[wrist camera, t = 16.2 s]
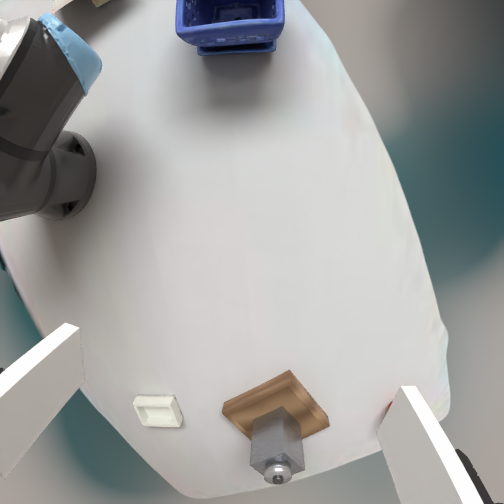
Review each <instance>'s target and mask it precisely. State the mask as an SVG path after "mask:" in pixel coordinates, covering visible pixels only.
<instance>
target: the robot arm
mask: <svg viewBox="0 0 504 504" xmlns="http://www.w3.org/2000/svg"><path fill="white" fill-rule="evenodd" d="M101 69H102V61H101V59H100V57H99V56H98V55H97V53H96V52H95V51H94V50H93V49H92V48H91V47H90V46H89V45H88V44H87V43H86V42H85V41H84V40H83V39H82V38H80V37H79V36H78V35H77V34H76V33H75V32H74V31H72V30H71V29H70V28H68V27H67V26H66V25H65V24H63V23H62V22H61V21H60V20H59V19H58V18H56V17H55V16H53V15H52V14H49V13H45V14H44V15H42V16H40V17H39V18H38V20H37V21H35V20H34V19H32V18H30V17H29V16H23V17H20V18H18V19H15V20H12V21H5V20H3V19H1V18H0V221H4V220H8V219H13V218H17V217H21V216H25V215H30V214H35V215H38V216H41V217H44V218H47V219H51V220H60V219H65V218H69V217H71V216H74V215H75V214H77V213H78V212H79V211H80V210H81V209H82V208H83V207H84V206H85V205H86V203H87V202H88V200H89V198H90V196H91V194H92V191H93V188H94V184H95V179H96V163H95V157H94V154H93V151H92V149H91V147H90V145H89V143H88V142H87V141H86V140H85V139H84V138H83V137H82V136H81V135H79V134H77V133H74V132H70V131H63V128H64V126H65V125H66V123H67V122H68V120H69V118H70V117H71V115H72V114H73V112H74V111H75V109H76V108H77V106H78V105H79V103H80V102H81V100H82V99H83V97H84V96H85V97H86V96H87V94H88V90H89V89H90V87H91V86H92V84H93V83H94V81H95V80H96V78H97V77H98V76H99V74H100V72H101ZM84 381H85V374H84V366H83V357H82V348H81V337H80V328H79V327H76V326H73V325H71V324H68V323H64V324H63V325H62V326H60V327H59V328H58V329H56V330H55V331H54V332H52V333H51V334H50V335H48V336H47V337H46V338H45V339H43V340H42V341H41V342H40V343H38V344H37V345H36V346H35V347H33V348H32V349H31V350H29V351H28V352H27V353H26V354H25V355H23V356H22V357H21V358H19V359H18V360H17V361H16V362H14V363H13V364H12V365H11V366H10V367H9V368H7V369H6V370H5V369H3V368H0V476H1V477H3V478H4V479H6V477H7V476H8V475H9V473H10V472H11V471H12V469H13V468H14V467H15V465H16V464H17V463H18V462H19V460H20V459H21V458H22V456H23V455H24V454H25V453H26V451H27V450H28V449H29V448H30V446H31V445H32V444H33V443H34V441H35V440H36V439H37V438H38V436H39V435H40V434H41V433H42V431H43V430H44V429H45V428H46V427H47V425H48V424H49V423H50V422H51V420H52V419H53V418H54V417H55V415H56V414H57V413H58V412H59V411H60V410H61V408H62V407H63V406H64V405H65V403H66V402H67V401H68V400H69V399H70V397H72V395H73V394H74V393H75V392H76V391H77V389H78V388H79V387H80V386H81V385H82V384H83V382H84ZM376 434H377V437H378V440H379V442H380V445H381V448H382V451H383V453H384V456H385V459H386V461H387V464H388V467H389V470H390V473H391V476H392V479H393V482H394V485H395V487H396V490H397V493H398V496H399V499H400V502H401V504H494V503H493V501H492V500H491V498H490V496H489V494H488V492H487V490H486V489H485V487H484V485H483V483H482V481H481V480H480V478H479V476H477V472H476V471H475V469H474V468H473V466H472V464H471V462H470V460H469V459H468V457H467V456H466V455H465V454H464V453H463V452H461V451H460V450H459V449H456V450H454V448H453V447H452V445H451V443H450V442H449V440H448V438H447V436H446V435H445V433H444V431H443V430H442V428H441V426H440V425H439V423H438V421H437V420H436V418H435V417H434V415H433V413H432V412H431V410H430V408H429V407H428V405H427V404H426V402H425V400H424V399H423V397H422V396H421V394H420V393H419V391H418V389H417V388H416V386H400V388H399V390H398V392H397V394H396V396H395V398H394V400H393V402H392V404H391V406H390V408H389V410H388V412H387V414H386V415H385V417H384V419H383V421H382V423H381V425H380V426H379V428H378V430H377V432H376ZM496 504H503V503H496Z"/></svg>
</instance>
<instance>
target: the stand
mask: <svg viewBox="0 0 504 504" xmlns="http://www.w3.org/2000/svg"><path fill="white" fill-rule="evenodd" d="M281 406H283V407H284V408H285V409H286V410H287V411H288V412H289V413H290V414H291V415H292V416H293V417H294V418H295V419H296V421H297V422H298V423H299V424H300V425H301V435H302V439H303V438H305V437H308V436H310V435H312V434H314V433H316V432H319V431H321V430H323V429H325V428H327V427H329V426H330V425H329V420H328V416H327V415H326V413H325V412H324V411H323V410H322V409H321V407H320V406H319V405H318V404H317V403H316V401H315V400H314V399H313V398H312V397H311V395H310V394H309V393H308V392H307V391H306V389H305V388H304V387H303V386H302V384H301V383H300V382H299V381H298V380H297V378H296V377H295V376H294V375H293V373H292V372H291V371H290V370H288V371H286V372H284V373H282V374H281V375H279V376H277V377H275V378H273V379H271V380H269V381H267V382H265V383H263V384H261V385H259V386H257V387H255V388H253V389H251V390H249V391H247V392H245V393H243V394H241V395H239V396H237V397H235V398H233V399H231V400H228V401H226V402H224V405H223V410H222V414H223V415H224V416H225V417H227V418H228V419H229V420H230V421H231V422H232V423H233V424H234V425H235V426H236V427H237V428H238V429H239V430H240V431H241V432H242V433H243V434H244V435H246V436H247V437H248V438H249V439H250V440H251V441H252V432H253V419H255V418H258V417H260V416H262V415H264V414H266V413H268V412H270V411H273V410H275V409H277V408H279V407H281Z"/></svg>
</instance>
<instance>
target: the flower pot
mask: <svg viewBox="0 0 504 504" xmlns="http://www.w3.org/2000/svg"><path fill="white" fill-rule="evenodd" d="M192 1H193V2H192ZM284 22H285V11H284V0H177V2H176V24H175V25H176V33H177V35H178V36H179V37H180V38H181V39H182V40H184V41H185V42H187V43H189V44H192V45H195V46H197V53H198V55H200V56H206V55H218V54H234V53H256V52H273V51H275V50H276V39H277V38H278V37H279V35H280V34H281V32H282V30H283V27H284Z"/></svg>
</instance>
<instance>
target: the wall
mask: <svg viewBox="0 0 504 504" xmlns="http://www.w3.org/2000/svg"><path fill="white" fill-rule="evenodd" d="M71 1H72V0H54V5H53V13H55V12H56V11H58V10H59V9H60V8H62V7H63V6H65V5H66V4H68V3H69V2H71ZM108 1H110V0H92V2H93V3H94V5H95V7H99V6H101V5H103V4H105V3H106V2H108ZM53 13H52V14H53Z"/></svg>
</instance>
